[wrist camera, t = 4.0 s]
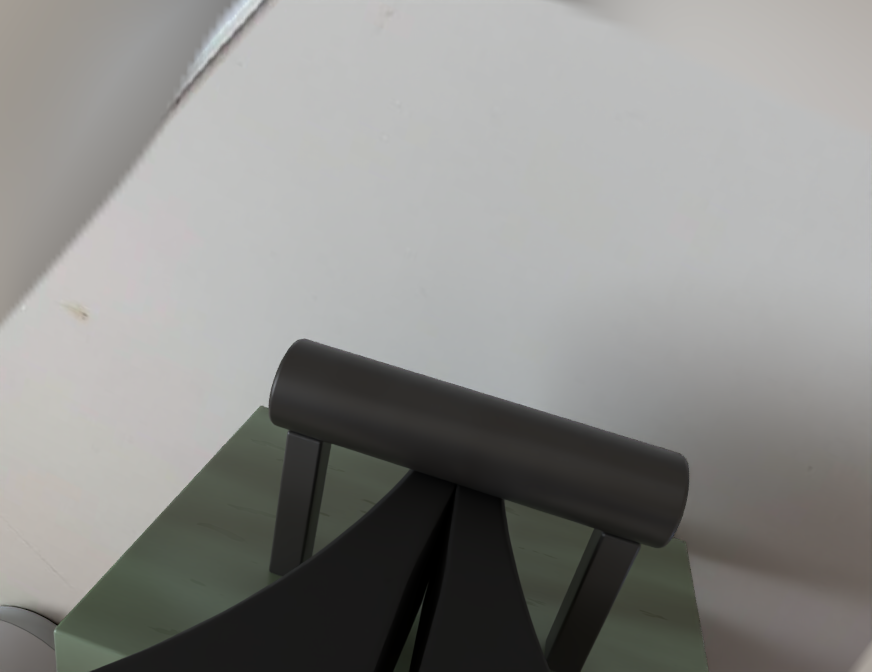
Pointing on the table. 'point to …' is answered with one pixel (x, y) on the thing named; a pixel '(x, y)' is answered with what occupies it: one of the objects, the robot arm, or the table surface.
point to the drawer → (374, 477)
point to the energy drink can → (26, 641)
